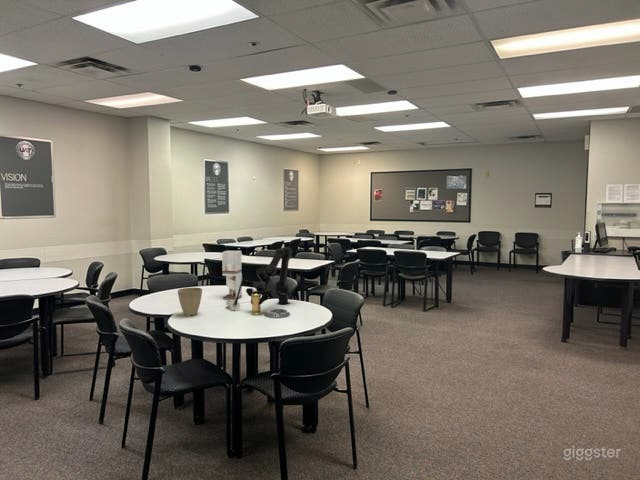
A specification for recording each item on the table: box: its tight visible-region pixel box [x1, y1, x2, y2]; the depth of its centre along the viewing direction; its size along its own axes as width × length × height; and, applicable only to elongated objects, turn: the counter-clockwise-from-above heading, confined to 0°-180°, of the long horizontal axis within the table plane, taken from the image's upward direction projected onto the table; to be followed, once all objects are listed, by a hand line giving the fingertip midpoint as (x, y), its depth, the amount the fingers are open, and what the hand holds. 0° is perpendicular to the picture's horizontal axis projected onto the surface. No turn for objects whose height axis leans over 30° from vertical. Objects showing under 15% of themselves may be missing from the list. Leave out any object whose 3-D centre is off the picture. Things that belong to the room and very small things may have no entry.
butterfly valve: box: [225, 279, 244, 312], centre depth 302 cm, size 9×20×17 cm
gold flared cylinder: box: [251, 293, 262, 316], centre depth 284 cm, size 6×6×13 cm
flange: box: [263, 308, 291, 319], centre depth 283 cm, size 16×16×2 cm
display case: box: [221, 250, 243, 301], centre depth 333 cm, size 11×11×35 cm
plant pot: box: [177, 287, 203, 317], centre depth 282 cm, size 15×15×16 cm
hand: (255, 304), depth 283 cm, fingers closed on gold flared cylinder, 5 cm apart
